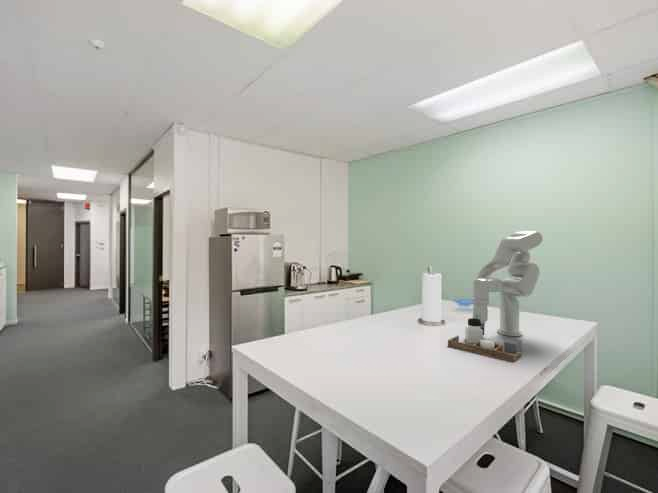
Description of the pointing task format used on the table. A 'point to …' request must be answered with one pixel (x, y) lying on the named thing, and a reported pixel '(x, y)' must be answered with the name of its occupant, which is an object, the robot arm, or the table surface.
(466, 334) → the medicine bottle
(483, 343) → the white rounded lump
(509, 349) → the grey rectangular block
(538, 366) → the table surface
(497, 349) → the wooden compartment tray
